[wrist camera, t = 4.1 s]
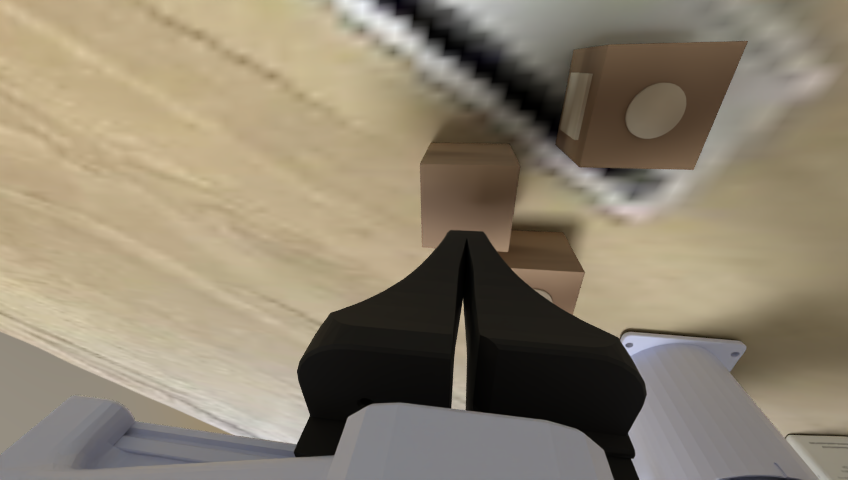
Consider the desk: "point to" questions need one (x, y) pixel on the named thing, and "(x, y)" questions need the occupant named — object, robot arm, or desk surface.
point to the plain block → (468, 191)
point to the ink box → (823, 455)
